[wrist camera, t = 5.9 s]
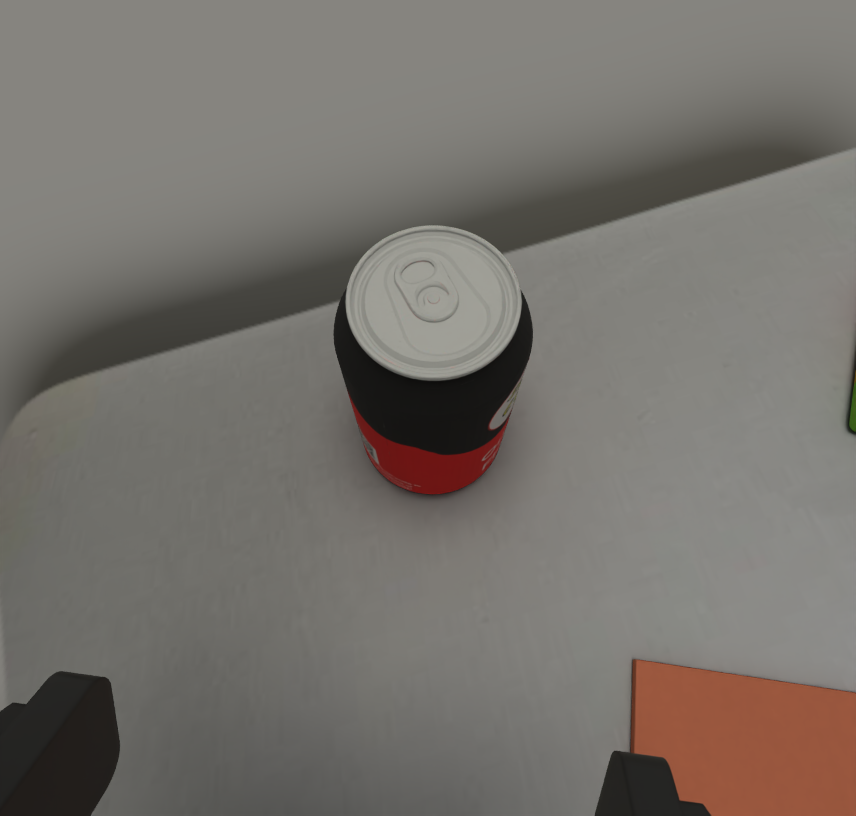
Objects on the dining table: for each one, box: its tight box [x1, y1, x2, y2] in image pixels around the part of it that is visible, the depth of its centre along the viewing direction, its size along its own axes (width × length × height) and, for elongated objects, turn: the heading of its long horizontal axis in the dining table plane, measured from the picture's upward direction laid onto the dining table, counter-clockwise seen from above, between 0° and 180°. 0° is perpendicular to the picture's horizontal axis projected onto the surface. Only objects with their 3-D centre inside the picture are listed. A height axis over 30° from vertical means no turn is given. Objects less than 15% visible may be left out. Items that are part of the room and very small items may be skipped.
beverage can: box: [334, 226, 533, 494], centre depth 24 cm, size 6×6×12 cm
